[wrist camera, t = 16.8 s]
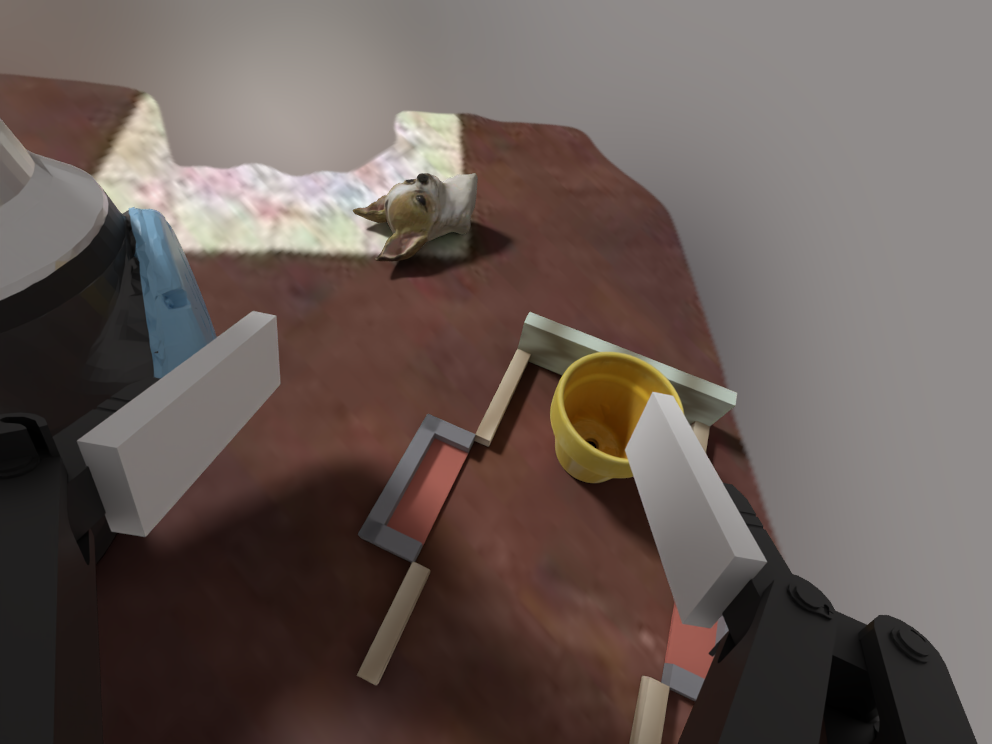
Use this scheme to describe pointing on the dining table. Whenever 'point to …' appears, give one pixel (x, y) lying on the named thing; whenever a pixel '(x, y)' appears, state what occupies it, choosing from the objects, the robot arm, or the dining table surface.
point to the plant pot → (602, 412)
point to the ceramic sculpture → (422, 212)
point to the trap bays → (420, 498)
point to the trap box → (538, 346)
